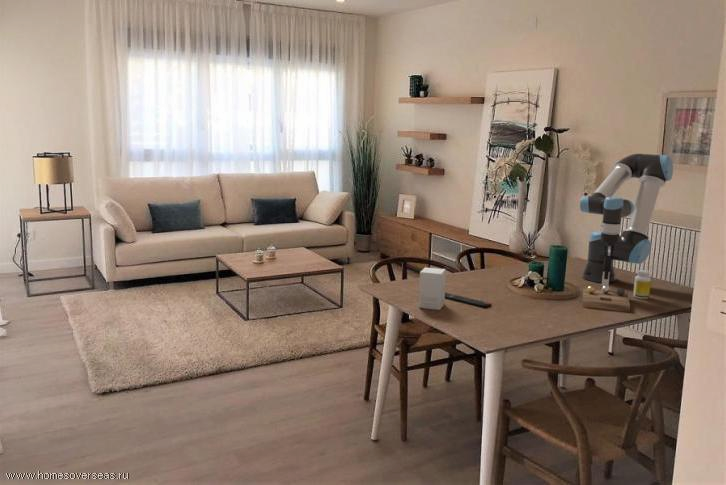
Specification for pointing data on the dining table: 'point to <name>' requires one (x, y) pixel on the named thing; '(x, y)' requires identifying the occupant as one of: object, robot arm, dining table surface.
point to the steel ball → (605, 289)
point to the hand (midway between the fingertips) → (605, 285)
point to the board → (606, 300)
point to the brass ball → (590, 289)
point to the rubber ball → (620, 291)
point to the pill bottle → (642, 285)
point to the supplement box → (432, 288)
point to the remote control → (467, 300)
